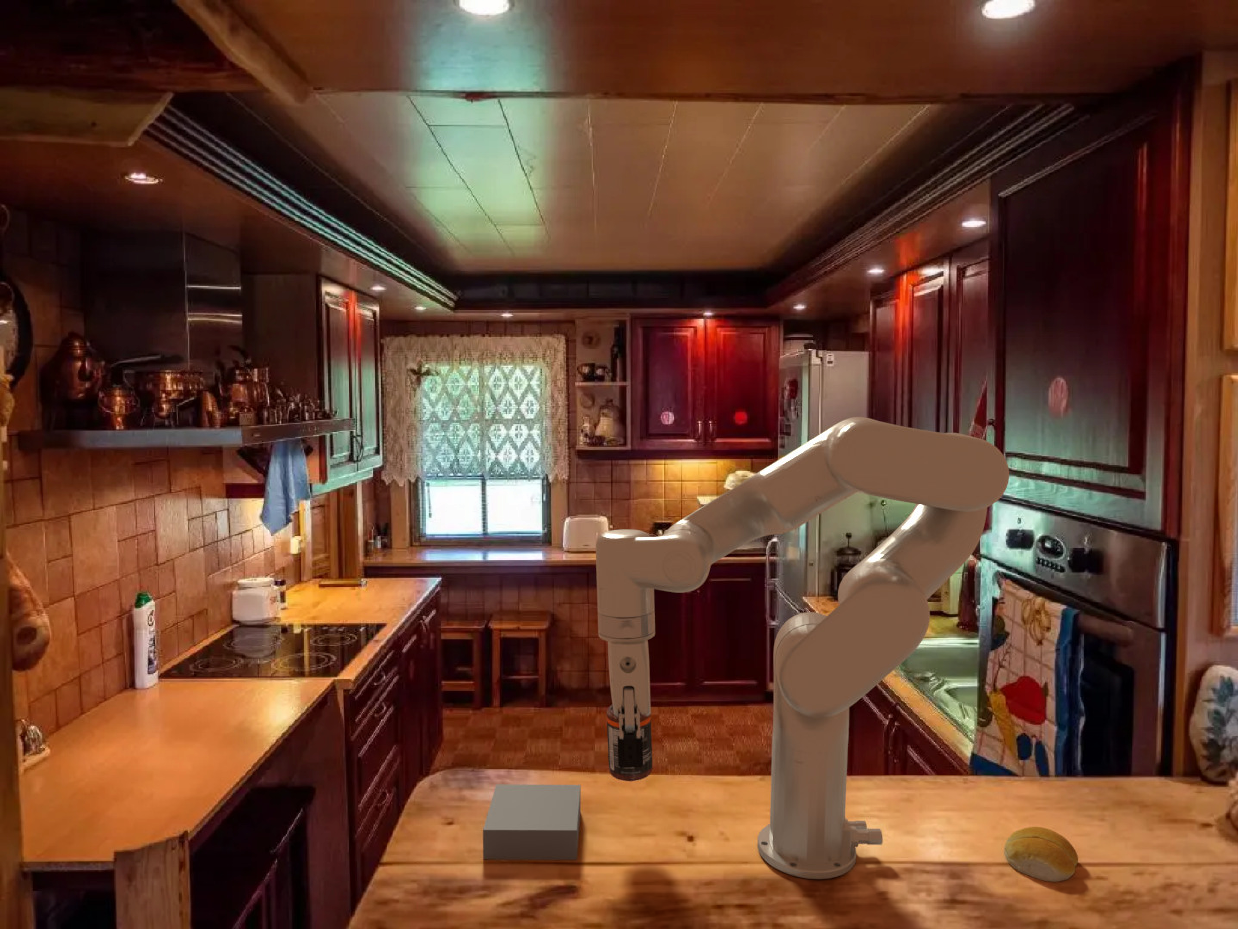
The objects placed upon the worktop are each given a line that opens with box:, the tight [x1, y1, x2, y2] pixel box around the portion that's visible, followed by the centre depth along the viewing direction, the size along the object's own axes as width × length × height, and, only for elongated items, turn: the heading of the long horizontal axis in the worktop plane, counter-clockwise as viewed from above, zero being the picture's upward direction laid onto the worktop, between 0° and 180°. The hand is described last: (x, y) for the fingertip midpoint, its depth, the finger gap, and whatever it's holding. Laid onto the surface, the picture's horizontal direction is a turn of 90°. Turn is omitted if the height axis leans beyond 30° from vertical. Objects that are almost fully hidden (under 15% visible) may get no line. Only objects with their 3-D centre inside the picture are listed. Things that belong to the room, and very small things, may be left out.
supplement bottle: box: [606, 687, 654, 782], centre depth 110 cm, size 6×6×11 cm
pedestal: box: [482, 783, 582, 861], centre depth 111 cm, size 12×12×4 cm
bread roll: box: [1003, 826, 1079, 883], centre depth 106 cm, size 8×9×4 cm
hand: (630, 753), depth 110 cm, fingers closed on supplement bottle, 6 cm apart
